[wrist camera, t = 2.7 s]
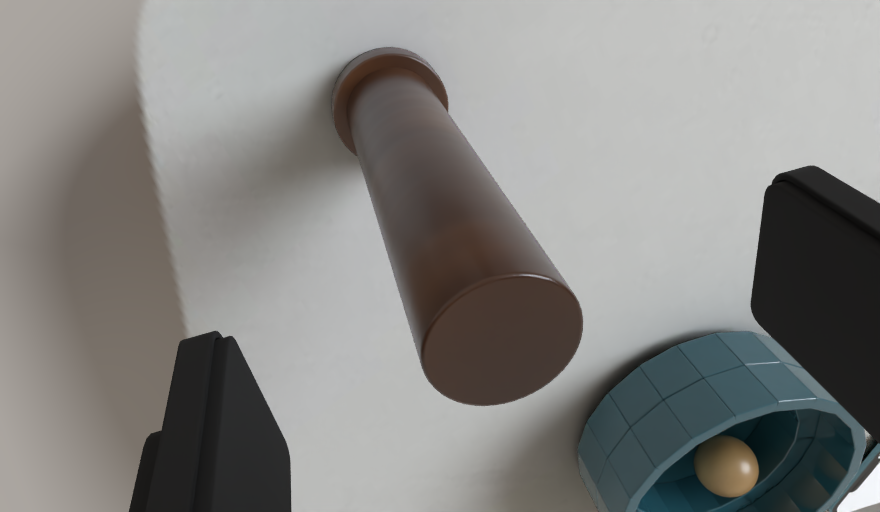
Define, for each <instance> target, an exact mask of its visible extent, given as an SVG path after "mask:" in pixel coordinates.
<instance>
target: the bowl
mask: <svg viewBox="0 0 880 512" xmlns="http://www.w3.org/2000/svg"><path fill="white" fill-rule="evenodd" d="M716 435H727V436H732V437H735V438H737V439H739V440H741V441H743V442H744V443H745V444H746V445H748V446H749V448H750V449H751V450H752V451H753V453H754V454H755V456H756V459H757V462H758V466H759V474H758V479H757V481H756V483H755V485H754V487H753V488H752V489H751V490H750V491H749V492H747V493H746V494H744V495H742V496H739V497H732V498H730V497H722V496H719V495H716V494H714V493H712V492H711V491H709V490H708V489H707V488H705V487H704V486H703V484H702V483H701V482H700V481H699V479H698V477H697V475H696V473H695V469H694V456H695V452H696V450H697V448H698V447H699V445H700V444H701V443H702V442H704V441H706V440H707V439H709V438H711V437H713V436H716ZM866 445H867V443H866V437H865V431H864V428H863V427H862V426H861V425H860V424H859V423H858V422H857V421H856V420H855V419H854V418H853V417H852V416H851V415H850V414H849V413H848V412H847V411H846V410H845V409H844V408H843V407H842V406H841V405H840V404H839V403H838V402H837V401H836V400H835V399H834V398H833V397H832V396H831V395H830V394H829V393H828V392H827V391H826V390H825V389H824V388H823V387H822V386H821V385H820V384H819V383H818V382H817V381H816V380H815V379H814V378H813V377H812V376H811V375H810V374H809V373H808V372H807V371H806V370H805V369H804V368H803V367H802V366H801V365H800V364H799V363H798V362H797V361H796V360H795V359H794V358H793V357H792V356H791V355H790V354H789V353H788V352H787V351H786V350H785V349H784V348H782V347H781V346H780V345H779V344H778V343H777V342H776V341H775V340H774V339H773V338H771V337H768V336H764V335H761V334H757V333H754V332H750V331H739V332H720V333H713V334H709V335H706V336H703V337H700V338H696V339H693V340H690V341H687V342H684V343H680V344H677V345H676V346H673V347H671V348H669V349H668V350H666V351H664V352H662V353H661V354H659V355H657V356H655V357H653V358H652V359H650V360H648V361H646V362H644V363H643V364H641V365H640V367H637V368H636V369H635V370H633V371H632V372H631V373H630V374H629V375H628V376H626V377H625V378H624V379H623V380H622V381H621V382H620V383H618V384H617V385H616V386H615V387H614V388H613V389H611V390H610V391H609V393H607V394H606V396H605V397H604V398H603V400H602V401H601V402H600V404H599V405H598V407H597V408H596V409H595V411H594V412H593V414H592V415H591V416H590V418H589V419H588V421H587V422H586V425H585V428H584V431H583V434H582V437H581V440H580V443H579V445H578V461H579V473H580V476H581V478H582V480H583V482H584V484H585V486H586V487H587V489H588V491H589V493H590V495H591V497H592V499H593V501H594V503H595V505H596V507H597V509H598V511H599V512H825V511H826V510H827V509H828V508H829V507H830V506H831V505H832V504H833V503H834V502H835V501H836V500H837V499H838V498H839V496H841V495H842V493H843V492H844V490H845V489H846V487H847V486H848V484H849V483H850V481H851V480H852V479H853V477H854V476H855V474H856V473H857V471H858V470H859V467H860V464H861V461H862V458H863V455H864V452H865V448H866Z"/></svg>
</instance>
